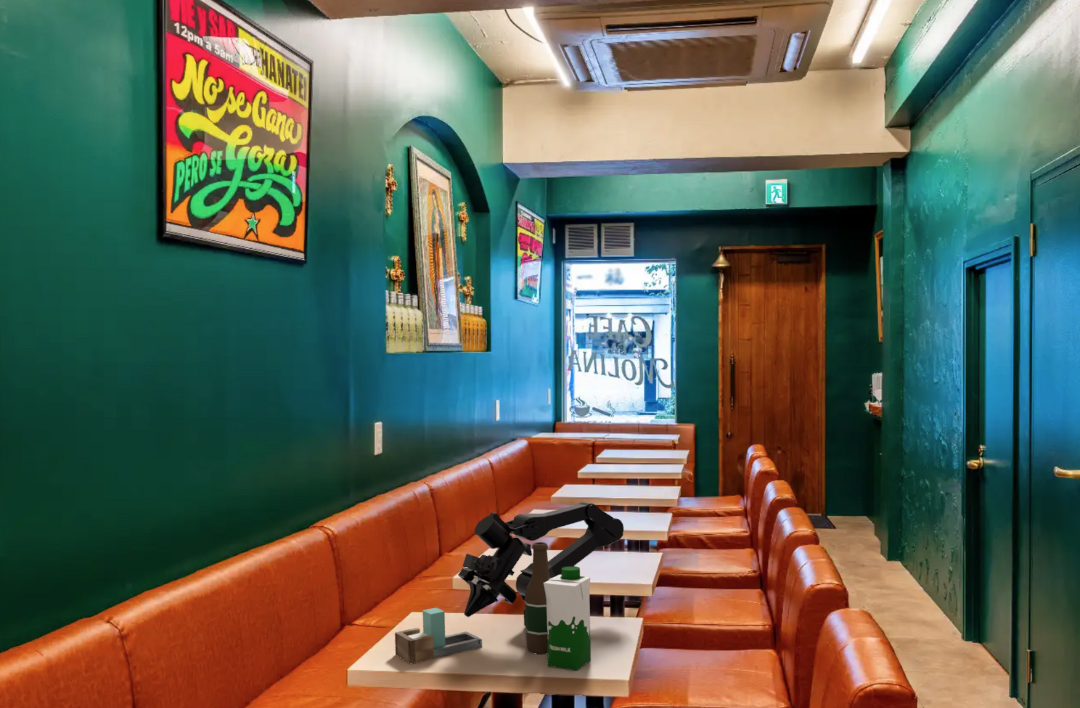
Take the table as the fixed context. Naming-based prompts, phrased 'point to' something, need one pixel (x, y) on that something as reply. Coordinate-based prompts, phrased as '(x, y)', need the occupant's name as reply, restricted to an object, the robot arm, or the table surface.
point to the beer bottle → (537, 602)
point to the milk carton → (568, 619)
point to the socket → (413, 646)
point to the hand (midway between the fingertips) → (466, 615)
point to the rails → (458, 644)
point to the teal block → (433, 626)
